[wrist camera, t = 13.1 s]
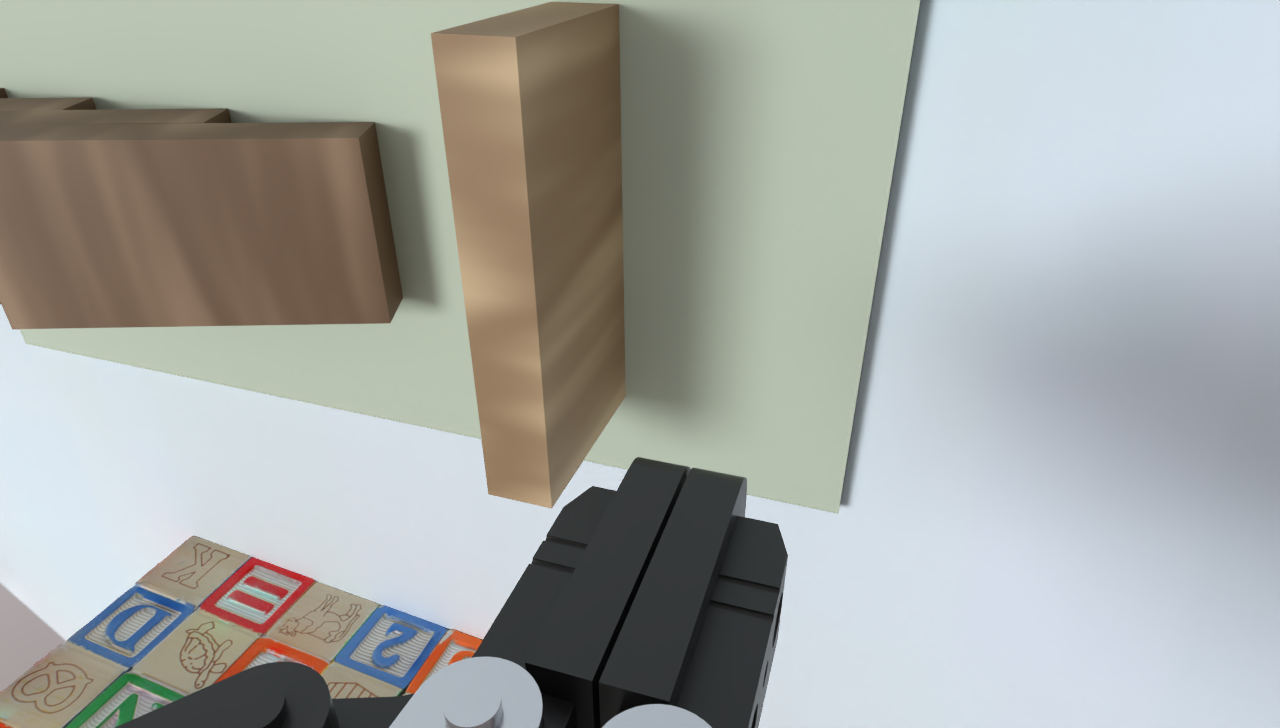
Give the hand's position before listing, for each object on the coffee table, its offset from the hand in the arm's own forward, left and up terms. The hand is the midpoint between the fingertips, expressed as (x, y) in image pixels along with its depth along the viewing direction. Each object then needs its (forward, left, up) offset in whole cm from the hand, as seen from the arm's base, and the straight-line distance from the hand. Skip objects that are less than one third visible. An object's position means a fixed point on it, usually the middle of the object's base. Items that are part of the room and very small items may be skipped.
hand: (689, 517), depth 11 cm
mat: (+13, -1, -10) cm, 17 cm away
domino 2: (+5, -5, -7) cm, 10 cm away
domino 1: (+11, 0, -9) cm, 14 cm away
